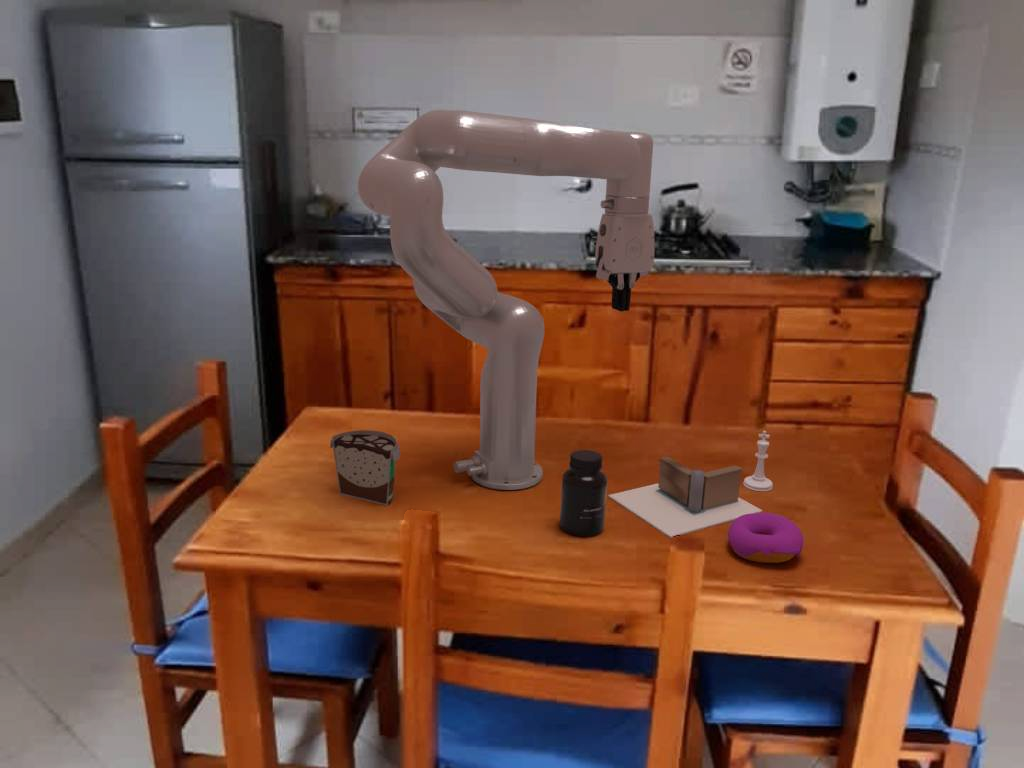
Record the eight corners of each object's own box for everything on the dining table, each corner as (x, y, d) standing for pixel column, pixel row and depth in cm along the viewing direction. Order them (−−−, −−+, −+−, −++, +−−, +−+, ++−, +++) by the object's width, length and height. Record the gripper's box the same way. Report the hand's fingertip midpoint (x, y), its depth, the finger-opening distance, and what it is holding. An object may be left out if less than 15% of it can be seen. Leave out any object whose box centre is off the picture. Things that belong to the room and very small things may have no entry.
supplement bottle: (591, 542, 125) (595, 468, 122) (551, 530, 129) (554, 457, 125) (611, 524, 131) (616, 453, 127) (572, 513, 134) (576, 443, 131)
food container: (415, 493, 140) (414, 436, 137) (395, 507, 135) (394, 449, 132) (353, 478, 145) (351, 424, 142) (332, 492, 140) (329, 436, 136)
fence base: (670, 538, 127) (674, 495, 125) (608, 496, 140) (610, 457, 138) (762, 512, 136) (767, 472, 134) (695, 475, 149) (699, 438, 147)
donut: (731, 529, 131) (734, 501, 129) (802, 542, 127) (806, 513, 126) (722, 561, 121) (725, 531, 120) (799, 576, 118) (803, 546, 116)
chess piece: (773, 492, 143) (781, 438, 140) (744, 489, 144) (750, 435, 141) (771, 481, 148) (778, 427, 145) (742, 478, 149) (748, 425, 146)
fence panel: (693, 503, 137) (696, 473, 135) (685, 505, 136) (688, 474, 134) (665, 485, 143) (667, 456, 141) (657, 487, 142) (659, 458, 141)
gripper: (604, 210, 140) (598, 318, 145) (674, 207, 147) (666, 310, 153) (579, 205, 146) (574, 309, 152) (647, 202, 153) (640, 302, 159)
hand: (620, 309), depth 152 cm, fingers closed
